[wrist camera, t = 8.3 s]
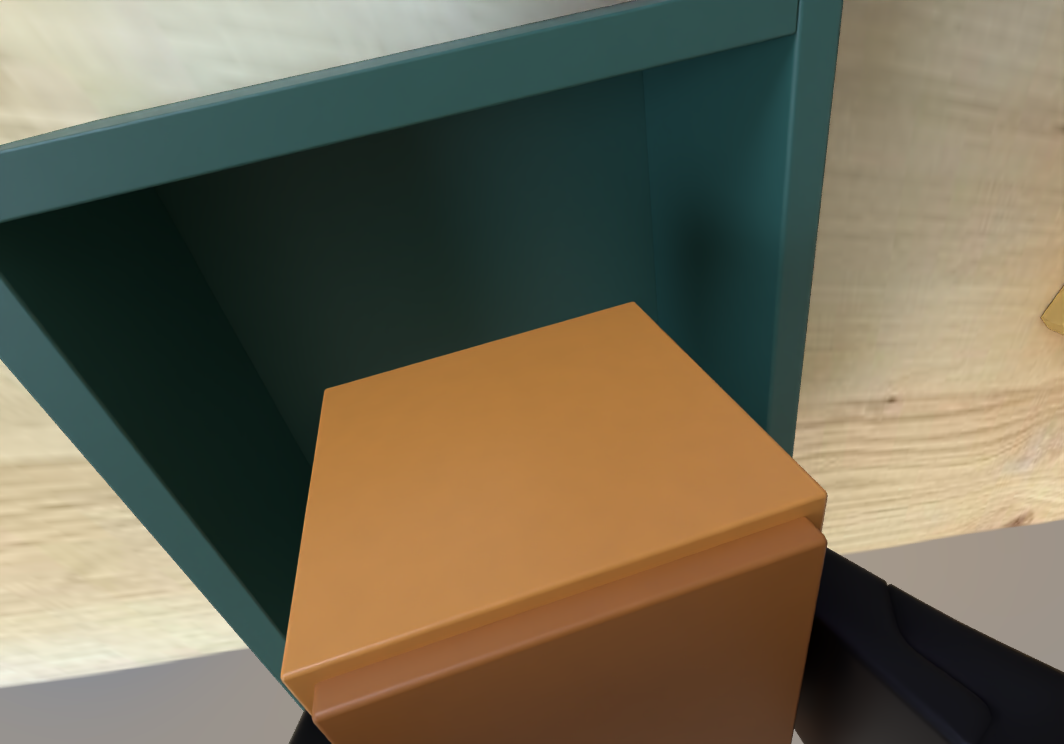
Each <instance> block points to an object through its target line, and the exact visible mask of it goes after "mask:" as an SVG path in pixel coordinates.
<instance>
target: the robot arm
mask: <svg viewBox="0 0 1064 744" xmlns="http://www.w3.org/2000/svg"><path fill="white" fill-rule="evenodd" d="M794 729H795V731H796V732H797V734H798V735H799V737H800V738H801V740H802V742H803V743H804V744H1064V672H1062V671H1060V670H1058V669H1056V668H1054V667H1052V666H1050V665H1047V664H1045V663H1043V662H1041V661H1039V660H1037V659H1035V658H1032V657H1031V656H1029V655H1026V654H1024V653H1022V652H1020V651H1018V650H1016V649H1014V648H1012V647H1010V646H1008V645H1006V644H1003V643H1001V642H999V641H997V640H995V639H993V638H991V637H989V636H987V635H985V634H983V633H981V632H979V631H977V630H975V629H973V628H971V627H969V626H967V625H965V624H963V623H961V622H959V621H957V620H955V619H953V618H952V617H950V616H948V615H946V614H944V613H942V612H941V611H939V610H937V609H935V608H933V607H931V606H929V605H928V604H925V603H924V602H922V601H920V600H919V599H917V598H915V597H913V596H911V595H909V594H908V593H906V592H904V591H902V590H901V589H899V588H897V587H895V586H894V585H892V584H889V585H888V586H887V583H886V581H885V580H883V579H881V578H879V577H878V576H876V575H874V574H872V573H871V572H869V571H867V570H865V569H864V568H862V567H860V566H858V565H857V564H855V563H853V562H851V561H849V560H848V559H846V558H844V557H843V556H841V555H839V554H837V553H836V552H834V551H832V550H830V549H829V548H826V554H825V559H824V565H823V570H822V576H821V581H820V587H819V592H818V598H817V603H816V609H815V614H814V620H813V626H812V631H811V637H810V642H809V648H808V653H807V659H806V664H805V670H804V675H803V681H802V686H801V692H800V698H799V703H798V709H797V714H796V720H795V725H794ZM289 744H332V743H331V742H330V741H329V740H328V739H327V738H326V736H325V735H324V734H323V733H322V732H321V731H320V730H319V728H318V727H317V726H316V725H315V724H314V723H313V720H312V716H311V715H310V714H309V713H308V711H307V710H306V709H305V710H304V712H303V714H302V716H301V719H300V721H299V723H298V725H297V727H296V729H295V732H294V734H293V736H292V738H291V740H290V742H289Z"/></svg>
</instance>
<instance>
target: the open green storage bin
mask: <svg viewBox="0 0 1064 744" xmlns="http://www.w3.org/2000/svg"><path fill="white" fill-rule="evenodd" d="M842 8H843V0H634V1H629V2H625V3H620V4H616V5H611V6H607V7H602V8H598V9H593V10H589V11H584V12H580V13H575V14H571V15H566V16H562V17H557V18H553V19H548V20H544V21H539V22H535V23H530V24H526V25H521V26H517V27H512V28H508V29H503V30H499V31H495V32H490V33H486V34H481V35H477V36H472V37H468V38H463V39H459V40H454V41H450V42H445V43H441V44H436V45H432V46H427V47H423V48H418V49H414V50H409V51H405V52H400V53H396V54H391V55H387V56H382V57H378V58H373V59H369V60H364V61H360V62H355V63H351V64H347V65H342V66H338V67H333V68H329V69H324V70H320V71H315V72H311V73H306V74H302V75H297V76H293V77H288V78H284V79H279V80H275V81H270V82H266V83H261V84H257V85H252V86H248V87H243V88H239V89H234V90H230V91H225V92H221V93H216V94H212V95H207V96H203V97H199V98H194V99H190V100H185V101H181V102H176V103H172V104H167V105H163V106H158V107H154V108H149V109H145V110H140V111H136V112H131V113H127V114H122V115H118V116H113V117H109V118H104V119H100V120H95V121H91V122H88V123H84V124H80V125H76V126H72V127H68V128H64V129H61V130H57V131H53V132H49V133H45V134H41V135H37V136H34V137H30V138H26V139H22V140H18V141H14V142H11V143H7V144H3V145H0V359H1V360H2V361H3V363H4V364H5V365H6V366H7V367H8V368H9V370H10V371H11V372H12V373H13V374H14V375H15V377H16V378H17V379H18V380H19V381H20V382H21V384H22V385H23V386H24V387H25V388H26V389H27V391H28V392H29V393H30V394H31V395H32V396H33V397H34V399H35V400H36V401H37V402H38V403H39V404H40V406H41V407H42V408H43V409H44V410H45V411H46V413H47V414H48V415H49V416H50V417H51V418H52V420H53V421H54V422H55V423H56V424H57V425H58V426H59V428H60V429H61V430H62V431H63V432H64V433H65V435H66V436H67V437H68V438H69V439H70V440H71V442H72V443H73V444H74V445H75V446H76V447H77V449H78V450H79V451H80V452H81V453H82V454H83V456H84V457H85V458H86V459H87V460H88V461H89V462H90V464H91V465H92V466H93V467H94V468H95V469H96V471H97V472H98V473H99V474H100V475H101V476H102V478H103V479H104V480H105V481H106V482H107V483H108V485H109V486H110V487H111V488H112V489H113V490H114V491H115V493H116V494H117V495H118V496H119V497H120V498H121V500H122V501H123V502H124V503H125V504H126V505H127V507H128V508H129V509H130V510H131V511H132V512H133V514H134V515H135V516H136V517H137V518H138V519H139V520H140V522H141V523H142V524H143V525H144V526H145V527H146V529H147V530H148V531H149V532H150V533H151V534H152V536H153V537H154V538H155V539H156V540H157V541H158V543H159V544H160V545H161V546H162V547H163V548H164V550H165V551H166V552H167V553H168V554H169V555H170V556H171V558H172V559H173V560H174V561H175V562H176V563H177V565H178V566H179V567H180V568H181V569H182V570H183V572H184V573H185V574H186V575H187V576H188V577H189V579H190V580H191V581H192V582H193V583H194V584H195V585H196V587H197V588H198V589H199V590H200V591H201V592H202V594H203V595H204V596H205V597H206V598H207V599H208V601H209V602H210V603H211V604H212V605H213V606H214V608H215V609H216V610H217V611H218V612H219V613H220V614H221V616H222V617H223V618H224V619H225V620H226V621H227V623H228V624H229V625H230V626H231V627H232V628H233V630H234V631H235V632H236V633H237V634H238V635H239V637H240V638H241V639H242V640H243V641H244V642H245V644H246V645H247V646H248V647H249V648H250V649H251V650H252V652H254V654H255V655H256V656H257V657H258V659H259V660H260V661H261V662H262V663H263V664H264V666H265V667H266V668H267V669H268V670H269V671H270V672H271V674H272V675H273V676H274V677H275V678H276V679H277V681H278V682H279V683H280V684H281V685H282V686H283V688H284V689H285V690H286V691H287V692H288V693H289V695H290V696H291V697H292V698H293V699H294V700H295V702H296V703H297V704H298V705H299V706H300V707H301V708H302V710H303V711H304V710H305V708H304V707H303V706H302V704H301V703H300V702H299V701H298V700H297V698H296V697H295V696H294V695H293V694H292V693H291V691H290V690H289V689H288V688H287V687H286V686H285V684H284V683H283V682H282V680H281V669H282V663H283V656H284V650H285V643H286V637H287V630H288V624H289V617H290V611H291V604H292V598H293V591H294V585H295V578H296V572H297V565H298V559H299V552H300V546H301V539H302V533H303V526H304V520H305V513H306V507H307V500H308V494H309V487H310V481H311V474H312V468H313V461H314V455H315V449H316V442H317V436H318V429H319V423H320V416H321V410H322V403H323V397H324V391H325V390H326V389H328V388H331V387H335V386H338V385H342V384H345V383H349V382H352V381H356V380H359V379H363V378H366V377H370V376H373V375H377V374H380V373H384V372H387V371H391V370H394V369H398V368H401V367H405V366H408V365H412V364H415V363H419V362H422V361H426V360H429V359H433V358H436V357H440V356H443V355H447V354H450V353H454V352H457V351H461V350H464V349H468V348H471V347H475V346H478V345H482V344H485V343H489V342H492V341H496V340H499V339H503V338H506V337H510V336H513V335H517V334H520V333H524V332H527V331H531V330H534V329H538V328H541V327H545V326H548V325H552V324H555V323H559V322H562V321H566V320H569V319H573V318H576V317H580V316H583V315H587V314H590V313H594V312H597V311H601V310H604V309H608V308H611V307H615V306H618V305H622V304H625V303H629V302H635V303H636V304H637V305H638V306H639V307H640V308H641V309H642V310H643V311H644V312H645V313H646V314H647V315H648V316H649V317H650V318H651V319H652V320H653V321H654V322H655V323H656V324H657V325H658V326H659V327H660V328H661V329H662V330H663V331H664V332H665V333H667V334H668V335H669V336H670V337H671V338H672V339H673V340H674V341H675V342H676V343H677V344H678V345H679V346H680V347H681V348H682V349H683V350H684V351H685V352H686V353H687V354H688V355H689V356H690V357H691V358H692V359H693V360H694V361H695V362H696V363H697V364H698V365H699V366H700V367H701V368H702V369H703V370H704V371H705V372H706V373H707V374H708V375H709V376H710V377H711V378H712V379H713V380H714V381H715V382H716V383H717V384H718V385H719V386H720V387H721V388H722V389H723V390H724V391H725V392H726V393H727V394H728V395H729V396H730V397H731V398H732V399H733V400H734V401H735V402H736V403H737V404H738V405H739V406H740V407H741V408H742V409H743V410H744V411H745V412H746V413H747V414H748V415H749V416H750V417H751V418H752V419H753V420H754V421H755V422H756V423H757V424H758V425H759V426H760V427H761V428H763V429H764V430H765V431H766V432H767V433H768V434H769V435H770V436H771V437H772V438H773V439H774V440H775V441H776V442H777V443H778V444H779V445H780V446H781V447H782V448H783V449H784V450H785V451H786V452H787V453H788V454H789V455H790V456H791V457H793V448H794V439H795V430H796V421H797V412H798V403H799V394H800V385H801V376H802V367H803V358H804V349H805V340H806V331H807V322H808V313H809V304H810V295H811V286H812V277H813V268H814V259H815V250H816V241H817V232H818V223H819V214H820V205H821V196H822V187H823V178H824V169H825V160H826V151H827V142H828V134H829V125H830V116H831V107H832V98H833V89H834V80H835V71H836V62H837V53H838V44H839V35H840V26H841V17H842Z"/></svg>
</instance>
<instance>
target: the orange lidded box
mask: <svg viewBox="0 0 1064 744" xmlns="http://www.w3.org/2000/svg"><path fill="white" fill-rule="evenodd" d="M827 497H828V496H827V493H826V491H825V490H824V489H823V488H822V487H821V486H820V485H819V484H818V483H817V482H816V481H815V480H814V479H813V478H812V477H811V476H810V475H809V474H808V473H807V472H806V471H805V470H804V469H803V468H802V467H801V466H800V465H799V464H798V463H797V462H796V461H795V460H794V459H793V458H792V457H791V456H790V455H789V454H788V453H787V452H786V451H785V450H784V449H783V448H782V447H781V446H780V445H779V444H778V443H777V442H776V441H775V440H774V439H773V438H772V437H771V436H770V435H769V434H768V433H767V432H766V431H765V430H764V429H763V428H761V427H760V426H759V425H758V424H757V423H756V422H755V421H754V420H753V419H752V418H751V417H750V416H749V415H748V414H747V413H746V412H745V411H744V410H743V409H742V408H741V407H740V406H739V405H738V404H737V403H736V402H735V401H734V400H733V399H732V398H731V397H730V396H729V395H728V394H727V393H726V392H725V391H724V390H723V389H722V388H721V387H720V386H719V385H718V384H717V383H716V382H715V381H714V380H713V379H712V378H711V377H710V376H709V375H708V374H707V373H706V372H705V371H704V370H703V369H702V368H701V367H700V366H699V365H698V364H697V363H696V362H695V361H694V360H693V359H692V358H691V357H690V356H689V355H688V354H687V353H686V352H685V351H684V350H683V349H682V348H681V347H680V346H679V345H678V344H677V343H676V342H675V341H674V340H673V339H672V338H671V337H670V336H669V335H668V334H667V333H665V332H664V331H663V330H662V329H661V328H660V327H659V326H658V325H657V324H656V323H655V322H654V321H653V320H652V319H651V318H650V317H649V316H648V315H647V314H646V313H645V312H644V311H643V310H642V309H641V308H640V307H639V306H638V305H637V304H636V303H635V302H629V303H625V304H622V305H618V306H615V307H611V308H608V309H604V310H601V311H597V312H594V313H590V314H587V315H583V316H580V317H576V318H573V319H569V320H566V321H562V322H559V323H555V324H552V325H548V326H545V327H541V328H538V329H534V330H531V331H527V332H524V333H520V334H517V335H513V336H510V337H506V338H503V339H499V340H496V341H492V342H489V343H485V344H482V345H478V346H475V347H471V348H468V349H464V350H461V351H457V352H454V353H450V354H447V355H443V356H440V357H436V358H433V359H429V360H426V361H422V362H419V363H415V364H412V365H408V366H405V367H401V368H398V369H394V370H391V371H387V372H384V373H380V374H377V375H373V376H370V377H366V378H363V379H359V380H356V381H352V382H349V383H345V384H342V385H338V386H335V387H331V388H328V389H326V390H325V391H324V397H323V403H322V410H321V416H320V423H319V429H318V436H317V442H316V449H315V455H314V461H313V468H312V474H311V481H310V487H309V494H308V500H307V507H306V513H305V520H304V526H303V533H302V539H301V546H300V552H299V559H298V565H297V572H296V578H295V585H294V591H293V598H292V604H291V611H290V617H289V624H288V630H287V637H286V643H285V650H284V656H283V663H282V669H281V680H282V682H283V683H284V684H285V686H286V687H287V688H288V689H289V690H290V691H291V693H292V694H293V695H294V696H295V697H296V698H297V700H298V701H299V702H300V703H301V704H302V706H303V707H304V708H305V709H306V710H307V711H308V713H309V714H310V715H311V716H312V720H313V723H314V724H315V725H316V726H317V727H318V728H319V730H320V731H321V732H322V733H323V734H324V735H325V736H326V738H327V739H328V740H329V741H330V742H331V743H332V744H791V742H792V736H793V730H794V725H795V720H796V714H797V709H798V703H799V698H800V692H801V686H802V681H803V675H804V670H805V664H806V659H807V653H808V648H809V642H810V637H811V631H812V626H813V620H814V614H815V609H816V603H817V598H818V592H819V587H820V581H821V576H822V570H823V565H824V559H825V554H826V548H827V540H826V538H825V536H824V535H823V534H822V526H823V520H824V514H825V508H826V502H827Z"/></svg>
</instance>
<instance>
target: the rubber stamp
mask: <svg viewBox="0 0 1064 744" xmlns="http://www.w3.org/2000/svg"><path fill="white" fill-rule="evenodd" d="M1041 319H1042V320H1043V321H1044V323H1045V324H1046V326H1047V327H1048V328H1049V329H1050V330H1053V331H1055V332H1058V333H1060V334H1062V335H1064V286H1063V288H1062V289H1061V290H1060V292H1059V293H1058V295H1057V296H1056V297H1055V299H1054V300H1053V302H1052V303H1051V304H1050V306H1049V307H1048V308H1047V310H1046V311H1045V313H1044V314H1043V315H1042V317H1041Z"/></svg>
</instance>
